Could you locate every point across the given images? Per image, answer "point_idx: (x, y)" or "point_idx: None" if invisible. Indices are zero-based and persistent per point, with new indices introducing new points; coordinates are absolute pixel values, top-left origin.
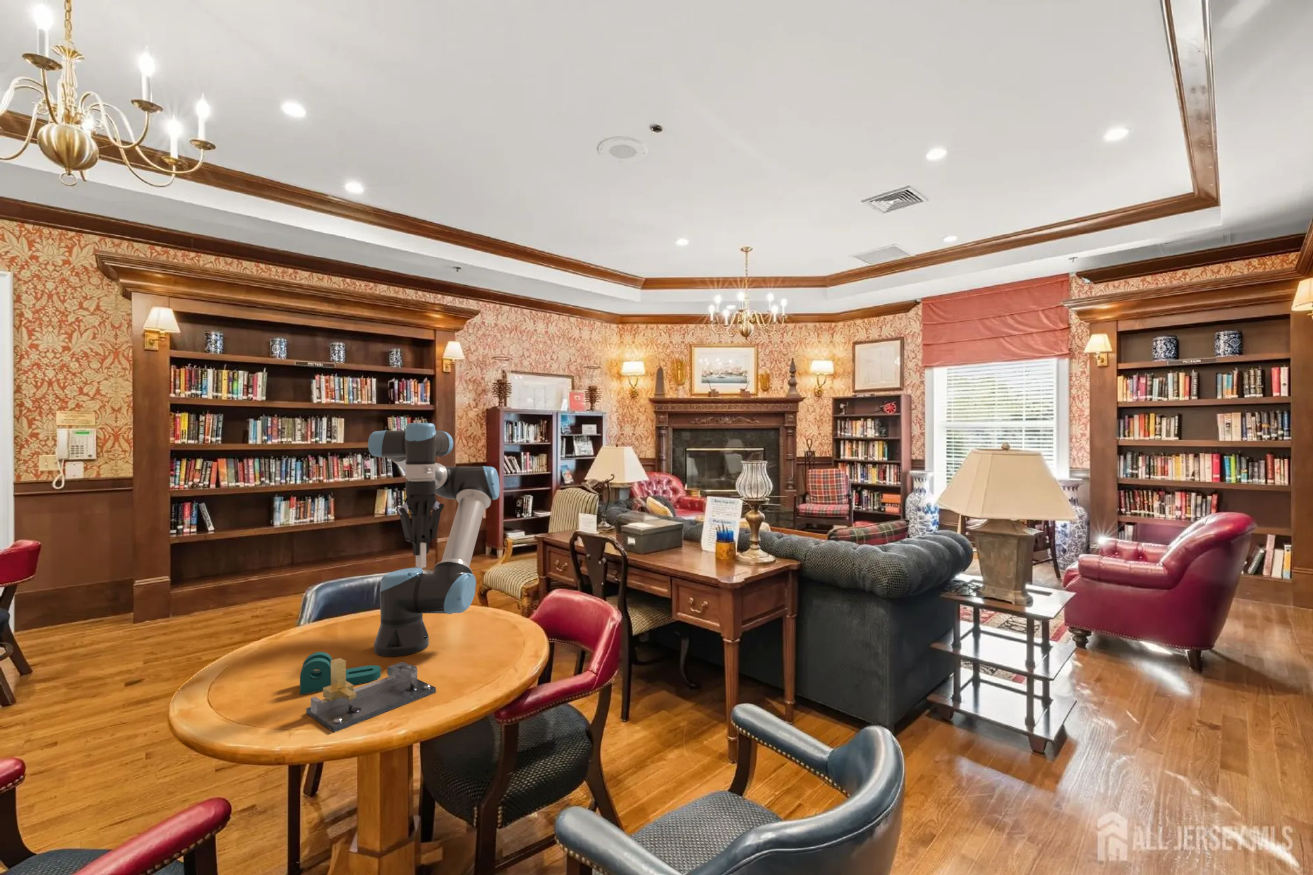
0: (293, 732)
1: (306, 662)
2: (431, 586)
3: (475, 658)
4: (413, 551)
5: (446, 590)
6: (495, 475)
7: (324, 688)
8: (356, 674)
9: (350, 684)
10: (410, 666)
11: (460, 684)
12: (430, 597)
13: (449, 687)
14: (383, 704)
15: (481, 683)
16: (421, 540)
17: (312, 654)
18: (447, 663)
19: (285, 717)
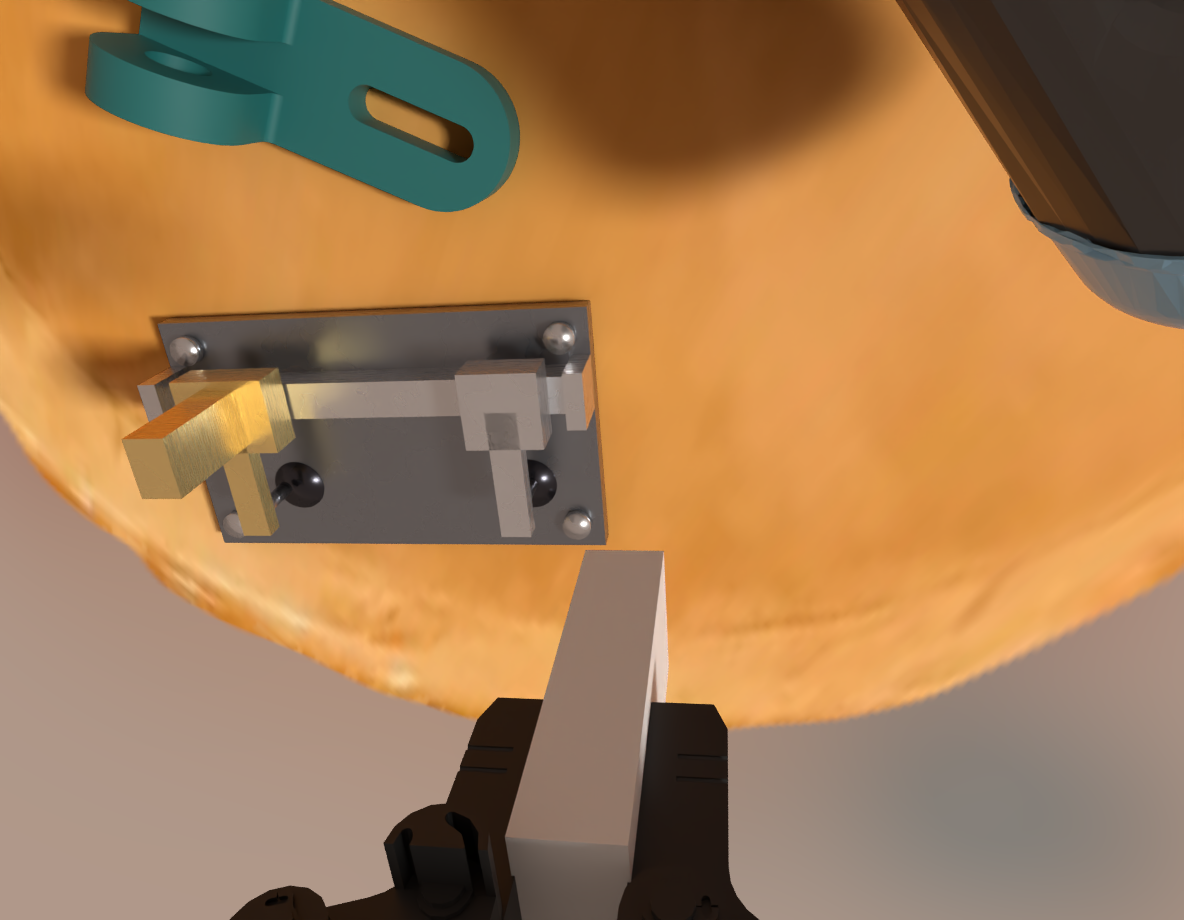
0: (127, 432)
1: None
2: (1028, 49)
3: (974, 346)
4: (472, 756)
5: (1089, 220)
6: None
7: (173, 393)
8: (383, 154)
9: (268, 438)
10: (542, 448)
11: (718, 547)
12: (954, 86)
13: (671, 536)
14: (397, 521)
15: (780, 602)
16: (626, 899)
17: None
18: (834, 289)
19: (104, 289)
